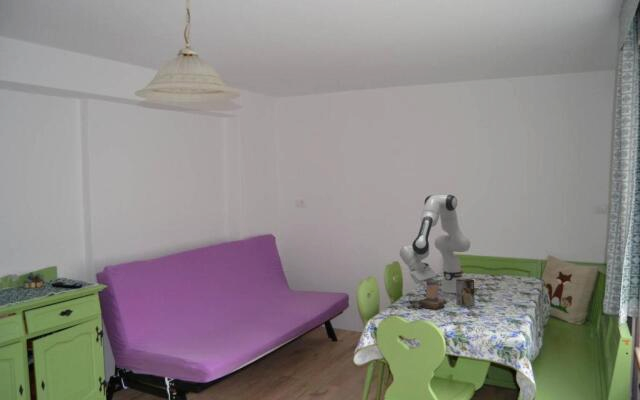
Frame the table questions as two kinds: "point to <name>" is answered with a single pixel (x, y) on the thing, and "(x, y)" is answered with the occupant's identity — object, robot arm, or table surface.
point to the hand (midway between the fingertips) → (431, 286)
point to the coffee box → (465, 292)
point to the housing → (432, 291)
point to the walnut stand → (432, 304)
